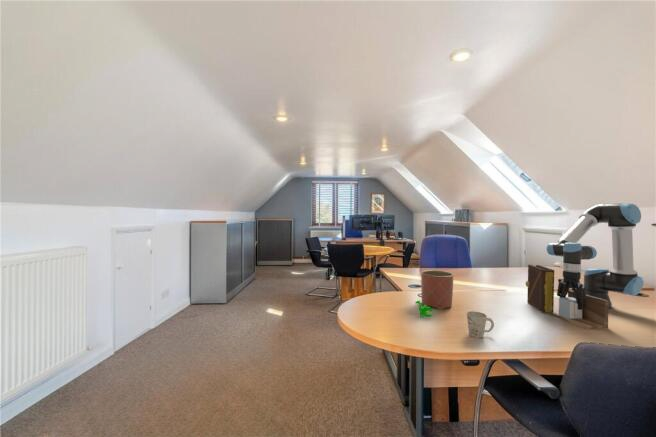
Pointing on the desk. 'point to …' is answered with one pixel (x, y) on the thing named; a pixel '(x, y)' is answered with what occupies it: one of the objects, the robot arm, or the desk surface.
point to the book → (541, 288)
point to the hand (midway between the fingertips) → (570, 312)
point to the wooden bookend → (590, 313)
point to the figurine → (424, 310)
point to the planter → (437, 288)
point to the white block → (568, 308)
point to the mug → (478, 324)
